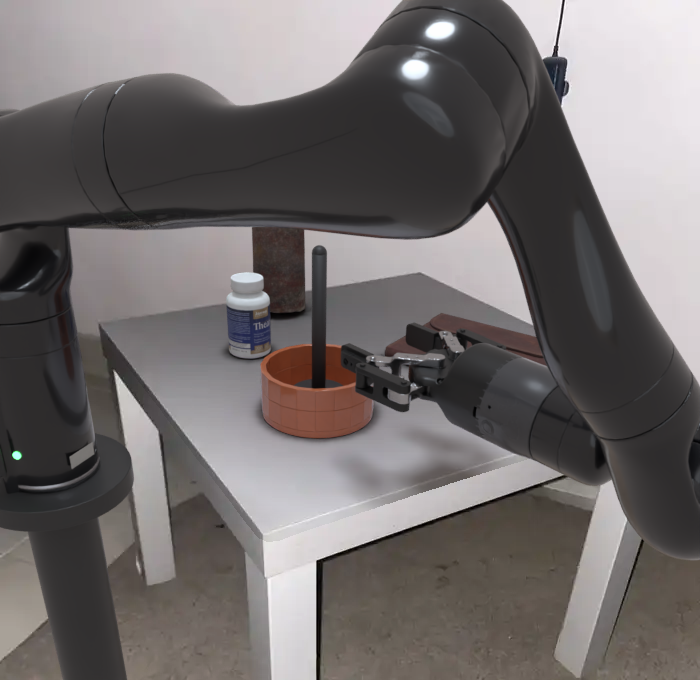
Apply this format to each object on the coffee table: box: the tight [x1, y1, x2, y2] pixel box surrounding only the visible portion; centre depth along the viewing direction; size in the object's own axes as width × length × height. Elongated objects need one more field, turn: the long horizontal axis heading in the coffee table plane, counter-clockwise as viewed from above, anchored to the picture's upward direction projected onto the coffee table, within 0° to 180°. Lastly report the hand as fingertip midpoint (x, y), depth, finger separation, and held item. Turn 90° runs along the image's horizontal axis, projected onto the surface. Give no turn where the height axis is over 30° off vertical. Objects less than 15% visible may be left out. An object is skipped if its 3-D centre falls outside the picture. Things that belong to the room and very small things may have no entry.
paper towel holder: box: [294, 244, 343, 389], centre depth 80 cm, size 6×6×18 cm
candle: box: [251, 227, 306, 314], centre depth 106 cm, size 8×7×20 cm
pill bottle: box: [225, 271, 272, 360], centre depth 96 cm, size 5×5×10 cm
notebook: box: [384, 312, 547, 366], centre depth 98 cm, size 15×20×2 cm
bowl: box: [259, 343, 375, 439], centre depth 84 cm, size 12×12×6 cm
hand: (376, 342), depth 74 cm, fingers open, 8 cm apart
